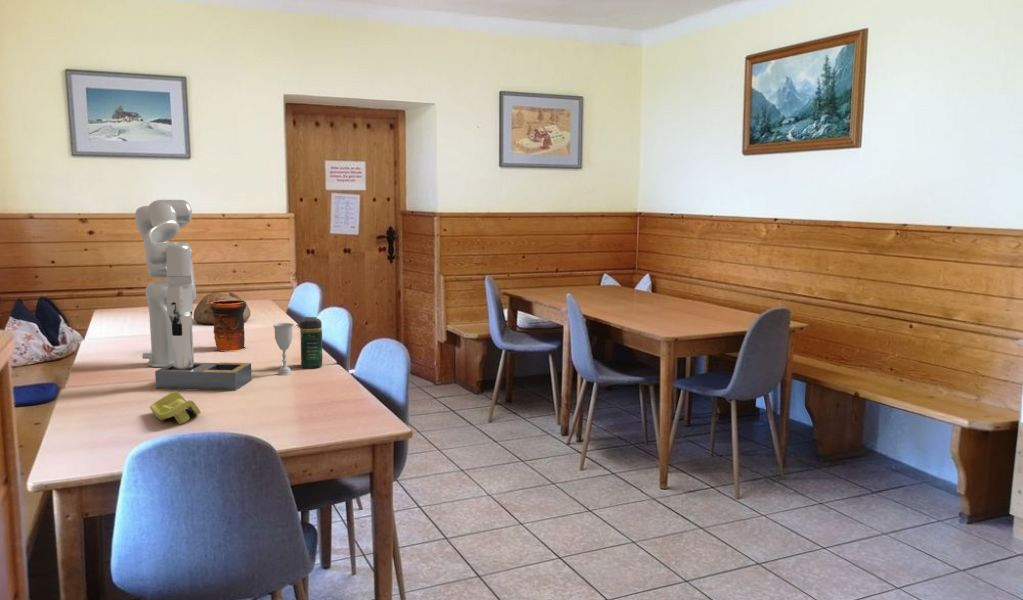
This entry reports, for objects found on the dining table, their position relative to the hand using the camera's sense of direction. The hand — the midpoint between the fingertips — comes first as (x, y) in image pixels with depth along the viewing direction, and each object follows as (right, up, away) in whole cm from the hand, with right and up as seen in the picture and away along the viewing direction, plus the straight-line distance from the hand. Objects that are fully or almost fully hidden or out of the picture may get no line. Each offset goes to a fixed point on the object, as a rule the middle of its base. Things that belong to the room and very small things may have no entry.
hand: (182, 333), depth 265 cm
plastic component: (+14, -24, -38) cm, 47 cm away
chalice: (+29, -16, +19) cm, 38 cm away
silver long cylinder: (0, -18, +2) cm, 18 cm away
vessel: (-7, -9, +63) cm, 64 cm away
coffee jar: (+36, -14, +31) cm, 50 cm away
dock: (+7, -18, +2) cm, 19 cm away
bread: (-34, 0, +130) cm, 134 cm away
